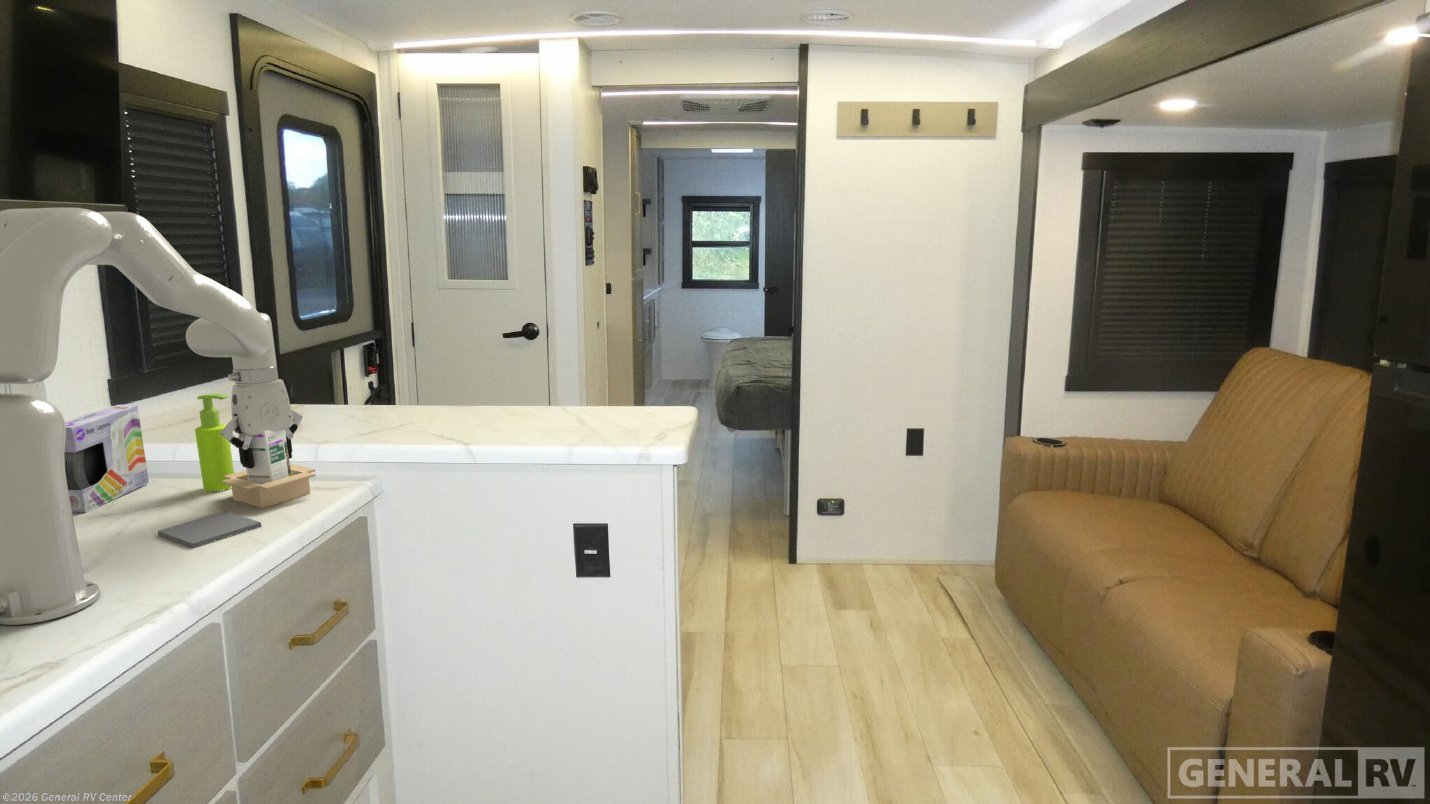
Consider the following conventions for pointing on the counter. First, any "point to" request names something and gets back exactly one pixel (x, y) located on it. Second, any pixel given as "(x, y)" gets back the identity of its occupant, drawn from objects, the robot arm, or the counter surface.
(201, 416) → the soap dispenser
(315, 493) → the counter surface
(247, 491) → the carton
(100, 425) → the cake pan box
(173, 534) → the mat
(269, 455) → the syrup box
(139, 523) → the counter surface
